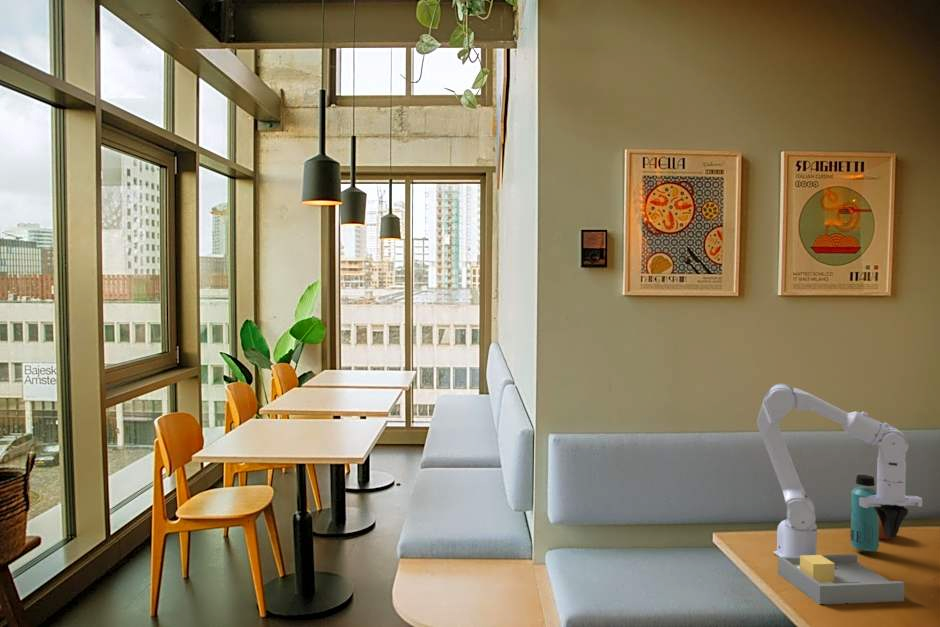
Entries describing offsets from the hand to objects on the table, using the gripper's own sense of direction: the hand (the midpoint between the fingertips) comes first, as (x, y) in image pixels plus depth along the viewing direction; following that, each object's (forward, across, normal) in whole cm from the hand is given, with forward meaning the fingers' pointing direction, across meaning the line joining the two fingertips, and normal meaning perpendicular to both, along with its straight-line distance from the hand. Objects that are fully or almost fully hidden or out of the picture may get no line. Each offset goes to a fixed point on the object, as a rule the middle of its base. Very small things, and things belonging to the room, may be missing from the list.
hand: (890, 536), depth 155 cm
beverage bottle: (+10, +4, +14) cm, 17 cm away
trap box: (+9, -16, -4) cm, 19 cm away
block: (+7, -21, -5) cm, 23 cm away
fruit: (+10, +16, +24) cm, 30 cm away
